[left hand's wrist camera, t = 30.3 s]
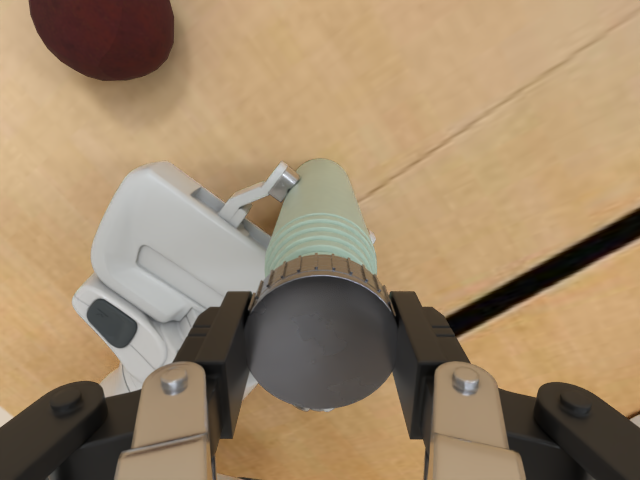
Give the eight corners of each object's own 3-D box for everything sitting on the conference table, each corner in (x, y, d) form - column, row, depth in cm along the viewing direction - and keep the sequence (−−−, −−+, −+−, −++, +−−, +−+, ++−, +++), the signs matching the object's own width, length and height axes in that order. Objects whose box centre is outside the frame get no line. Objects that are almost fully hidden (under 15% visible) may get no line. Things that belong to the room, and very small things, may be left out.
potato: (67, 55, 27) (-17, 39, 20) (96, -68, 25) (12, -130, 18) (169, 103, 28) (121, 104, 21) (206, -9, 26) (165, -48, 19)
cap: (369, 231, 11) (376, 250, 10) (408, 356, 13) (420, 387, 11) (226, 277, 12) (213, 302, 10) (279, 392, 13) (275, 427, 12)
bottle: (338, 149, 29) (371, 237, 11) (358, 206, 31) (417, 369, 12) (281, 171, 30) (216, 290, 11) (303, 225, 31) (278, 410, 13)
